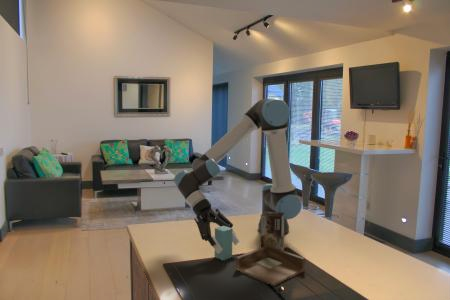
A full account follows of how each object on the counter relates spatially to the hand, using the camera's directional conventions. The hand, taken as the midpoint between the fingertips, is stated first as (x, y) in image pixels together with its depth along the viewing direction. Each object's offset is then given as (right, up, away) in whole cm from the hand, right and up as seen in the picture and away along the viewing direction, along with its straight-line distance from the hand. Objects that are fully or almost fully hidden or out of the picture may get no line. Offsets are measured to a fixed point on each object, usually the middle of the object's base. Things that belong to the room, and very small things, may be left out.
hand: (229, 247), depth 152 cm
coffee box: (+18, -4, +10) cm, 21 cm away
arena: (+15, -6, -10) cm, 19 cm away
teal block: (-2, -5, +2) cm, 5 cm away
